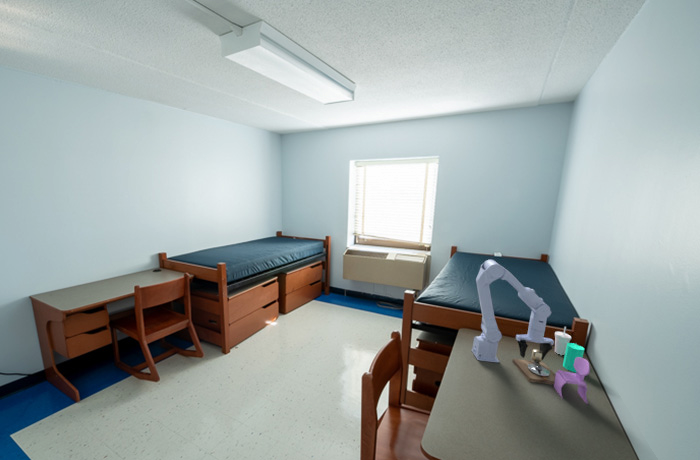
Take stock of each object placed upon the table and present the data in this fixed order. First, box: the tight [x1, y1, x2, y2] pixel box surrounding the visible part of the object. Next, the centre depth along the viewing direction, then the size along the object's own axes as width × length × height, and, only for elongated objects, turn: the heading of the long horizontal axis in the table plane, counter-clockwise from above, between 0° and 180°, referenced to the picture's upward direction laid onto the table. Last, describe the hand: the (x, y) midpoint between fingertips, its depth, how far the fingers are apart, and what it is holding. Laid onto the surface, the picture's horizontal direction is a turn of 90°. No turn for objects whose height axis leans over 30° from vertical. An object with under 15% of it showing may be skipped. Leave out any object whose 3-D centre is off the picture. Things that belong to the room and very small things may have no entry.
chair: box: [553, 357, 591, 405], centre depth 101 cm, size 8×9×15 cm
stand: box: [512, 358, 556, 386], centre depth 114 cm, size 13×13×2 cm
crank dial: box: [528, 348, 550, 377], centre depth 114 cm, size 12×8×5 cm, turn 154°
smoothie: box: [554, 326, 572, 356], centre depth 130 cm, size 6×6×14 cm
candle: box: [562, 342, 585, 373], centre depth 119 cm, size 6×6×12 cm
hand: (531, 357), depth 119 cm, fingers open, 7 cm apart
